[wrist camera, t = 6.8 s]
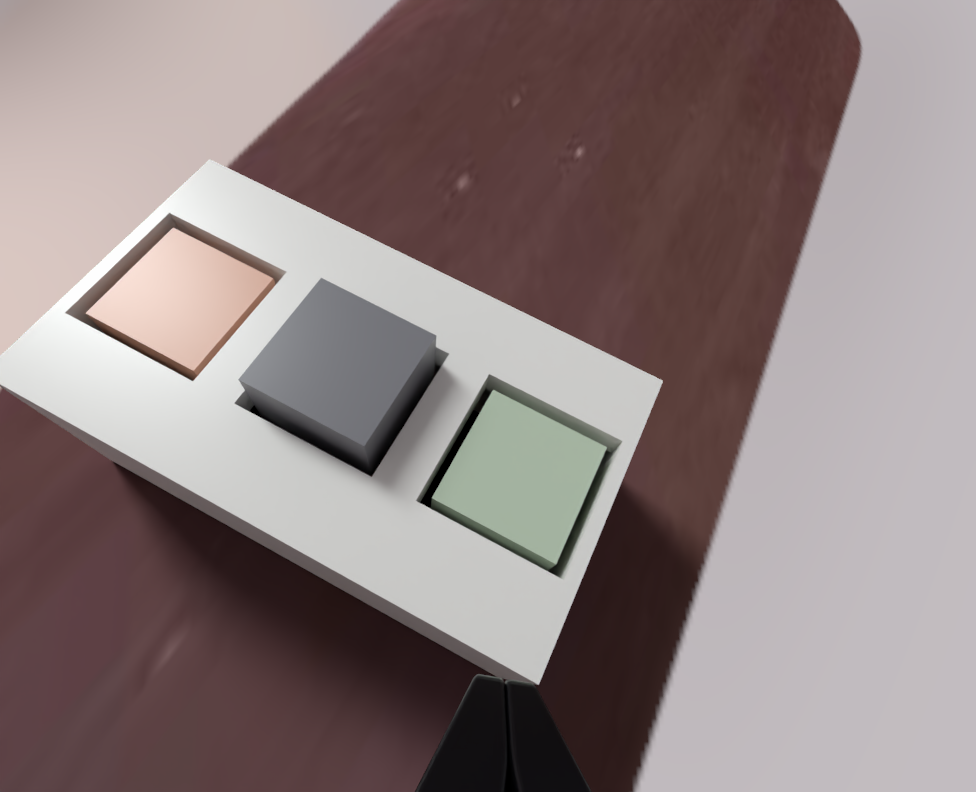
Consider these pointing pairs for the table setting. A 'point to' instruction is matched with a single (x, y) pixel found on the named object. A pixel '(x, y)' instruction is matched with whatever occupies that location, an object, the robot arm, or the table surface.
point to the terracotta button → (181, 303)
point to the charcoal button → (342, 374)
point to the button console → (316, 474)
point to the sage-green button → (519, 480)
